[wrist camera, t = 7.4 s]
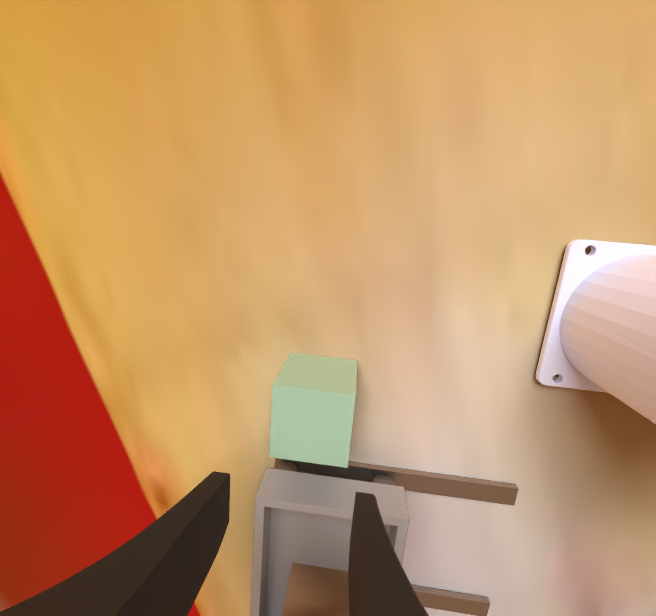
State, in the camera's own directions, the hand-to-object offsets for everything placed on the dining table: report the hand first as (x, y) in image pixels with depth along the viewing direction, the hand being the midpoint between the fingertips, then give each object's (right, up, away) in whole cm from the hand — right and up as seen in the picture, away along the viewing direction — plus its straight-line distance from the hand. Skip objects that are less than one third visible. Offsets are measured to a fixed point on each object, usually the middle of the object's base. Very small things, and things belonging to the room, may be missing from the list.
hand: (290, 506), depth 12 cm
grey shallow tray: (+1, -8, +11) cm, 14 cm away
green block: (+1, +2, +9) cm, 10 cm away
